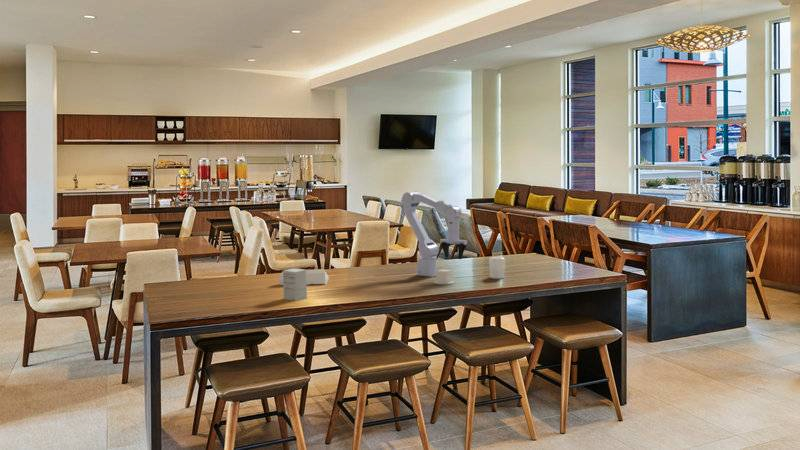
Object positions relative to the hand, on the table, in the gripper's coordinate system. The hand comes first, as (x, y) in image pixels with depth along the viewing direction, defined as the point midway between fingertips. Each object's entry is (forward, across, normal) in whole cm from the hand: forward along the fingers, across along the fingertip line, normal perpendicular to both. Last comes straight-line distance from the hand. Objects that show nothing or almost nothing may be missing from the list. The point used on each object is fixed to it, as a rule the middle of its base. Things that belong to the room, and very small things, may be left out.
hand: (453, 258), depth 359 cm
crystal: (+10, -54, -51) cm, 75 cm away
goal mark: (+10, +2, -13) cm, 16 cm away
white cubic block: (+10, +2, -13) cm, 16 cm away
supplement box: (+10, -34, -79) cm, 87 cm away
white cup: (+10, +18, +12) cm, 24 cm away
